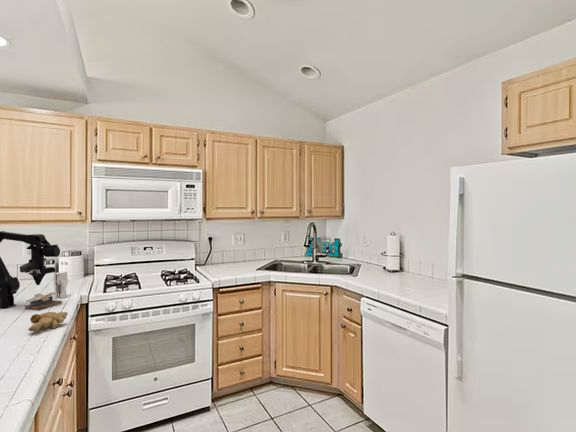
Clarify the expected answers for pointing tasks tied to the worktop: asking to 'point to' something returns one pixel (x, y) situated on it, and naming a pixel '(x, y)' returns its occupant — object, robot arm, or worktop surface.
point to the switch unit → (42, 304)
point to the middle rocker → (42, 297)
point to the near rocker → (33, 299)
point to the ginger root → (47, 320)
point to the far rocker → (50, 294)
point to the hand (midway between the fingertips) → (37, 285)
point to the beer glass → (60, 284)
